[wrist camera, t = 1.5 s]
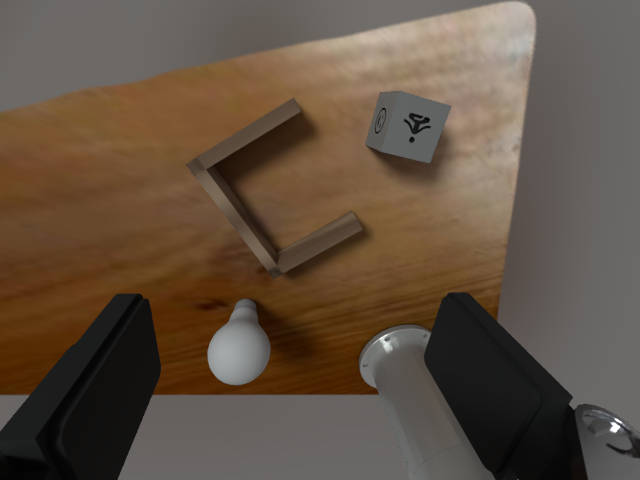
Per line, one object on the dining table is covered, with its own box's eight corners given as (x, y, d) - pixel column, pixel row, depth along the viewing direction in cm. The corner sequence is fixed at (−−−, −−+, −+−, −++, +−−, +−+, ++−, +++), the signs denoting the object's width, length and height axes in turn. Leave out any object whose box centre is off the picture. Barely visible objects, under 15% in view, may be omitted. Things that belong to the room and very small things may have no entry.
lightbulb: (218, 284, 35) (196, 355, 25) (269, 281, 36) (268, 349, 26) (224, 323, 38) (206, 402, 28) (272, 320, 39) (271, 395, 29)
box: (355, 219, 34) (362, 229, 31) (273, 265, 35) (273, 278, 32) (292, 98, 28) (293, 97, 25) (194, 158, 29) (185, 164, 26)
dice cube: (424, 105, 30) (451, 106, 25) (407, 154, 32) (429, 163, 27) (379, 92, 29) (399, 90, 24) (364, 144, 31) (380, 151, 26)
